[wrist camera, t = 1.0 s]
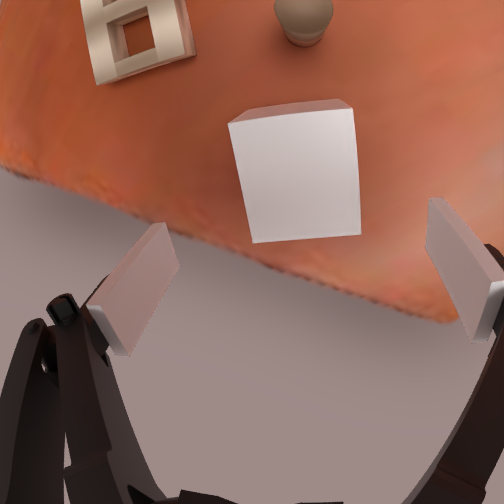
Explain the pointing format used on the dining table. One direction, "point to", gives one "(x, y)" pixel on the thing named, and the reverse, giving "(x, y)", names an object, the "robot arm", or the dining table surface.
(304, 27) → the peg
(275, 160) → the white cube block
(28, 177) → the dining table surface
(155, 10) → the socket board
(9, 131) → the dining table surface
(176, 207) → the dining table surface
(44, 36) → the dining table surface
